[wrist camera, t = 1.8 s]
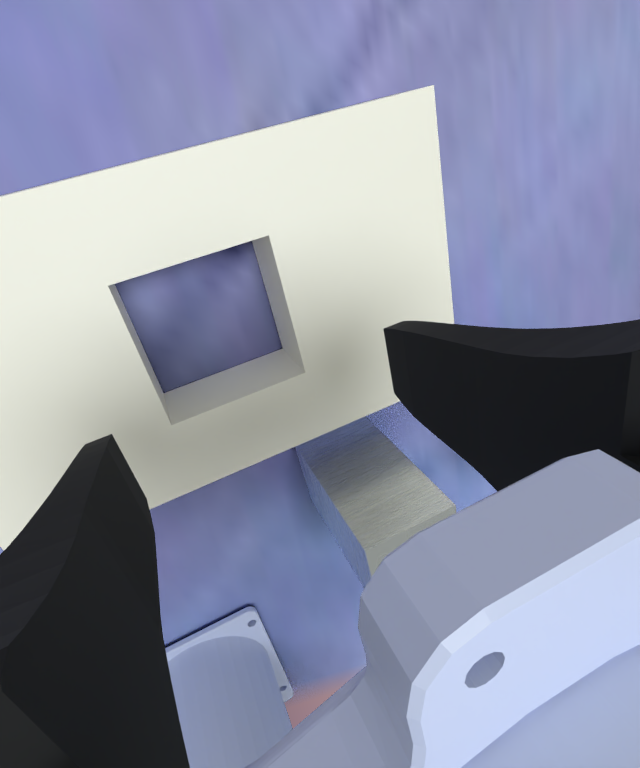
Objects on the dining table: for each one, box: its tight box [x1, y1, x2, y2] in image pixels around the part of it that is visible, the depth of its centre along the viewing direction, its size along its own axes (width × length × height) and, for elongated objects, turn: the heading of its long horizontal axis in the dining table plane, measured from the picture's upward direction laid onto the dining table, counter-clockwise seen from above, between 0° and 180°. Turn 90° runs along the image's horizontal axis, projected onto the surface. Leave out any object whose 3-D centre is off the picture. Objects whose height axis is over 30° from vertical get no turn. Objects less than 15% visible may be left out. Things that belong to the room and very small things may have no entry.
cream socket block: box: [0, 85, 454, 550], centre depth 19 cm, size 12×20×3 cm, turn 104°
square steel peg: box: [295, 416, 456, 588], centre depth 22 cm, size 4×4×8 cm
